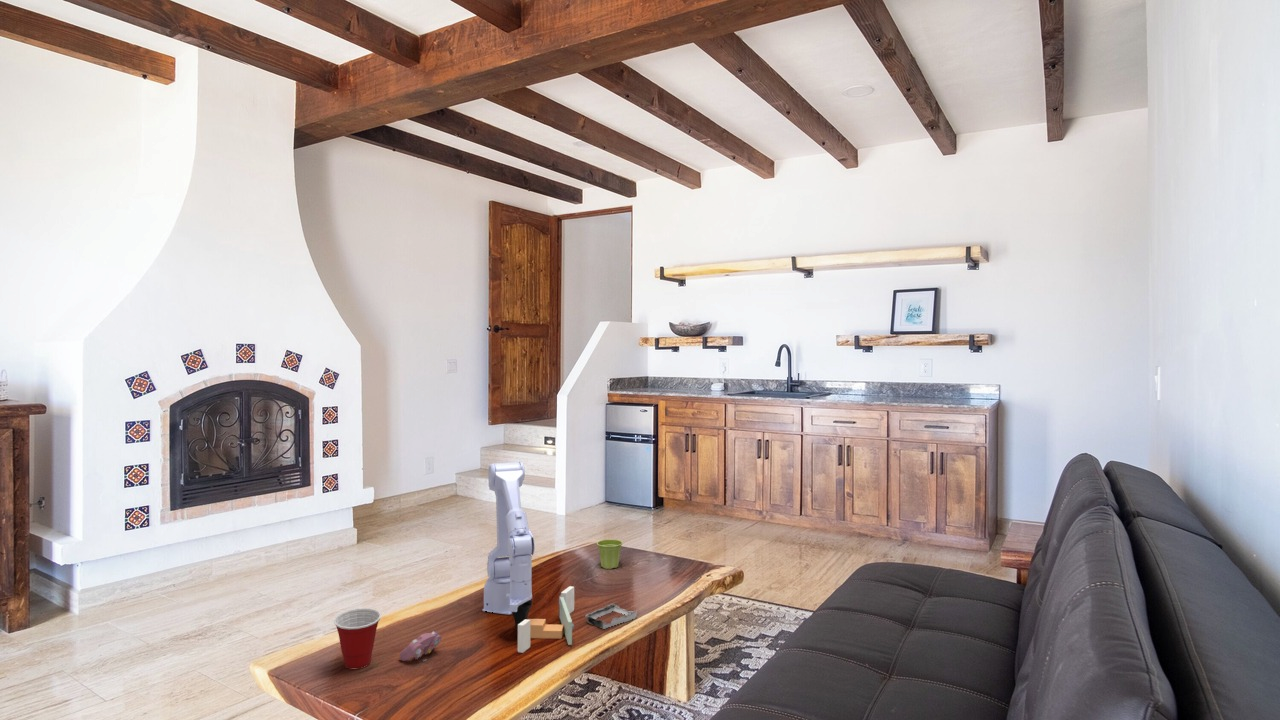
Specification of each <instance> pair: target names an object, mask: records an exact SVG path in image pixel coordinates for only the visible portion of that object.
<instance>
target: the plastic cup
mask: <svg viewBox="0 0 1280 720" xmlns="http://www.w3.org/2000/svg"><path fill="white" fill-rule="evenodd" d="M381 617H382V613H381V612H380V610H377V609H376V608H375V609H374V608H367V607H363V608H354V609H349V610H345V611H343V612H341V613H339V614H338V615H336V616H335V617H334V619H333V623H334V625H335V627H336V629H337V633H338V639H339V643H340V649H341V650H340V651H341V654H342V659H343V664H344V667H345V666H346V667H347V668H361V667H364V666H366V665H368V664H369V663H370V664H371V661H372V656H373V650H374V646H375V645H374V644H375V640H376V635H377V634H376V633H377V630H378V629H377V628H378V625H379V621H380V620H381ZM370 664H369V665H370ZM369 665H368V666H369ZM346 667H345V668H346ZM366 667H367V666H366ZM347 668H346V669H347ZM364 668H365V667H364ZM361 669H362V668H361Z"/></svg>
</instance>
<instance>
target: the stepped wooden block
mask: <svg viewBox="0 0 1280 720" xmlns="http://www.w3.org/2000/svg"><path fill="white" fill-rule="evenodd" d="M527 620H530V639H559V640H560V639H562V638H563V636H564V634H565V633H564V625H562V624H551V623H550V624H548V623H546V622H547V621H546V620H547V618H527Z"/></svg>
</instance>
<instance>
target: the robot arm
mask: <svg viewBox="0 0 1280 720" xmlns="http://www.w3.org/2000/svg"><path fill="white" fill-rule="evenodd" d="M487 470H488V473H487V474H488V477H487V478H488V479H487V480H488V487H489V490H490V491H493V492H494V494H495V506H496V507H495V508H496V511H495V513H496V516H495V518H496V546H495V548H493V549H492V550H491V551H490V552H489V553H488V555H487V562H486V563H487V564H486V565H487V566H486V571H487V577H488V578H487V580H486V581H485V583H484V587H483V608H482V609H481V611H482V612H485V611H487V613H492V612H493V614H500V615H508V616H511V615H512V617H513V622H514V625H515V629H516V630H517V631H518V624H520V623H521V622H522V621H524V620H525V619H528V615H529V612H530V609H531V607H532V605H533V600H531V599H533V594H532V593H533V592H532V591H533V590H532V558H533V557H532V556H534V554H535V538H534V535H533V533H532V531H531V529H530V528H529V522H528V517H527V513H526V512H525V510H523V509H522V504H521V502H522V501H521V492H520V488H521V486H522V485H523V483H524V480H525V472H526V471H525V466H524V463H523V462H522V461H515V462H499V463H498V462H497V463H495V462H494V463H493V462H492V463H490V464H489V466H488V469H487Z"/></svg>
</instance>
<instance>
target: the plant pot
mask: <svg viewBox="0 0 1280 720" xmlns="http://www.w3.org/2000/svg"><path fill="white" fill-rule="evenodd" d="M596 545H597V549H598V553H599V558H600V567H601V568H603V569H605V570H607V569H608V570H611V569H614V568H615V569H616V568H618V567H619V563H620V555H621V548H622V545H623V541H622V540H618V539H602V540H598V541H596Z"/></svg>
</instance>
